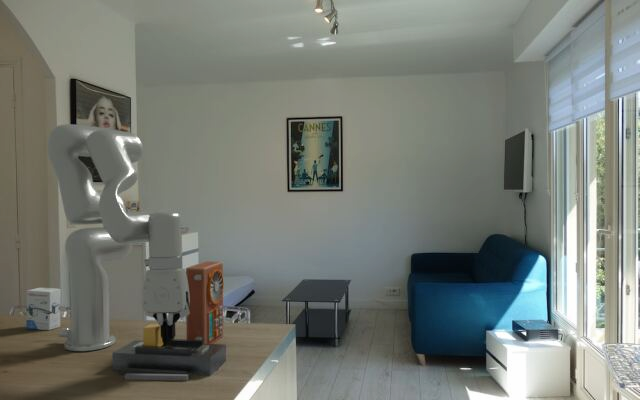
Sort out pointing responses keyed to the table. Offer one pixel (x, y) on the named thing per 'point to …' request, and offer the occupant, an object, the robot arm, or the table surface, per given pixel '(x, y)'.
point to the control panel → (205, 302)
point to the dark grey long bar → (148, 371)
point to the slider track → (172, 356)
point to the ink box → (43, 308)
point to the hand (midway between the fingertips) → (168, 340)
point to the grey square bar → (156, 376)
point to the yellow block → (152, 335)
